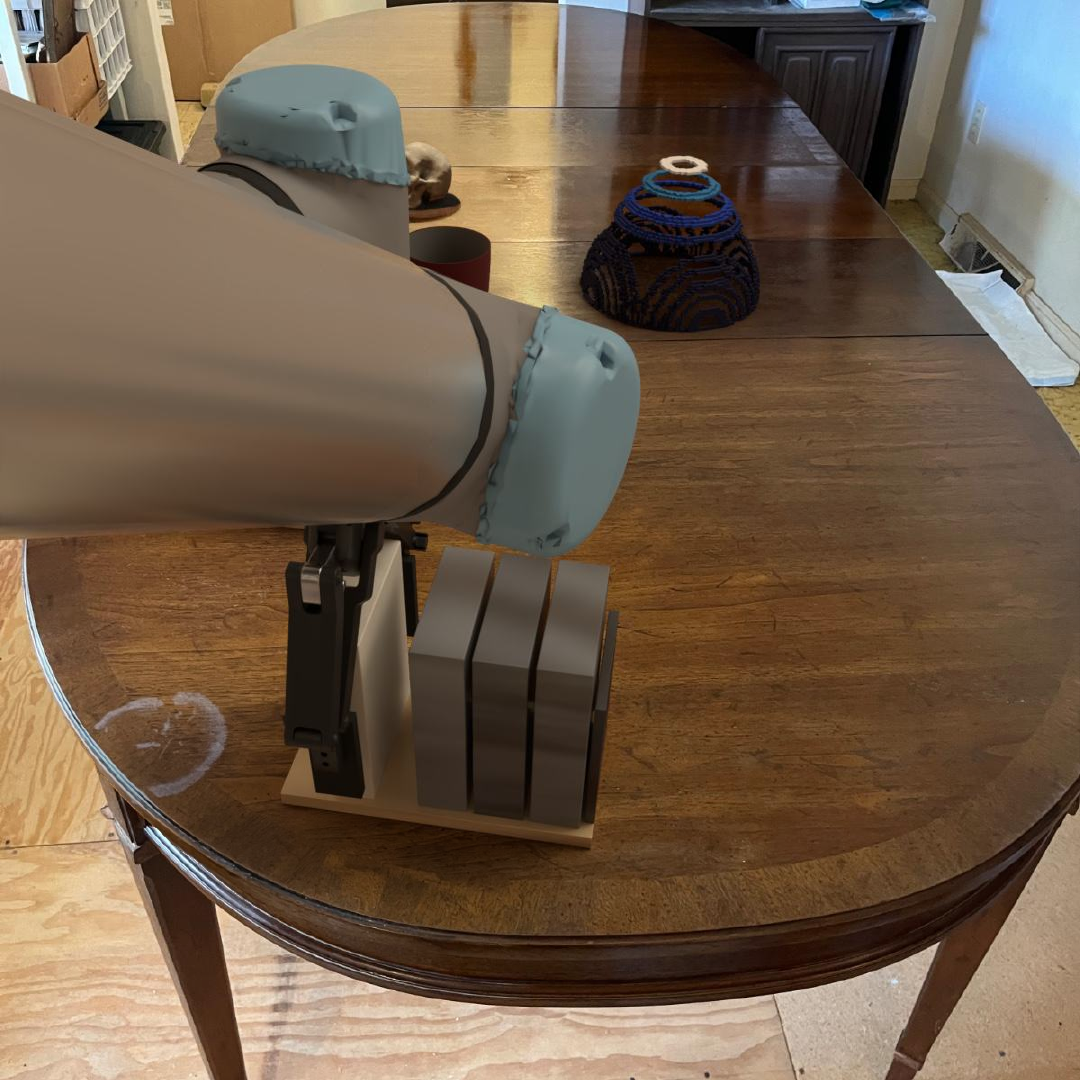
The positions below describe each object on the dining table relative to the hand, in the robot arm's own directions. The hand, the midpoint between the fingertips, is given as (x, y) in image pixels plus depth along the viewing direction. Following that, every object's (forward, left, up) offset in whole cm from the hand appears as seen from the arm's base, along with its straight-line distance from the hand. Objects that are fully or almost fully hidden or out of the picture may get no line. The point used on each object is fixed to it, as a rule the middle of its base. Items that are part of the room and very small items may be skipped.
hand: (371, 705), depth 66 cm
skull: (+89, +19, -4) cm, 91 cm away
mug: (+52, +8, -4) cm, 53 cm away
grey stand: (0, -5, -4) cm, 7 cm away
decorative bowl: (+71, -15, -4) cm, 73 cm away
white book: (0, 0, -3) cm, 3 cm away
